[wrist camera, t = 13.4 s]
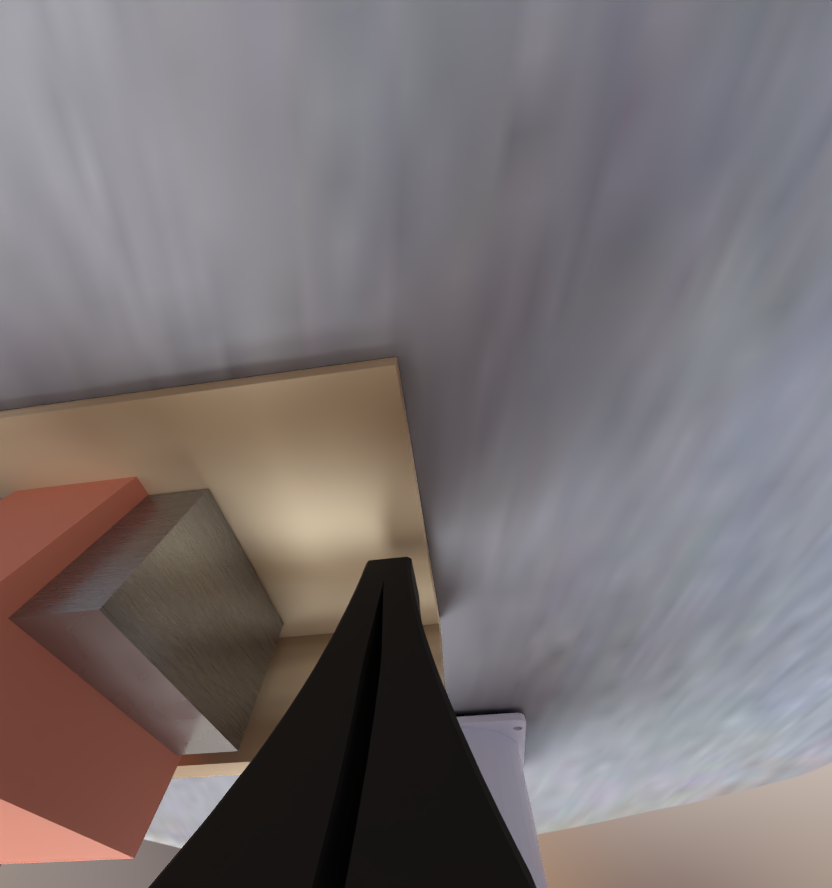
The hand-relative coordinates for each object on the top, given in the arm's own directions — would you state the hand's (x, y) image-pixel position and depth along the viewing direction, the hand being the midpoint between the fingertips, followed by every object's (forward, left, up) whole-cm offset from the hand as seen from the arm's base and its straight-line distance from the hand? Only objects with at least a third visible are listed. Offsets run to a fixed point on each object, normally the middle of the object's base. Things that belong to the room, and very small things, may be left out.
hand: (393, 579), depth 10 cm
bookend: (0, +6, -1) cm, 6 cm away
